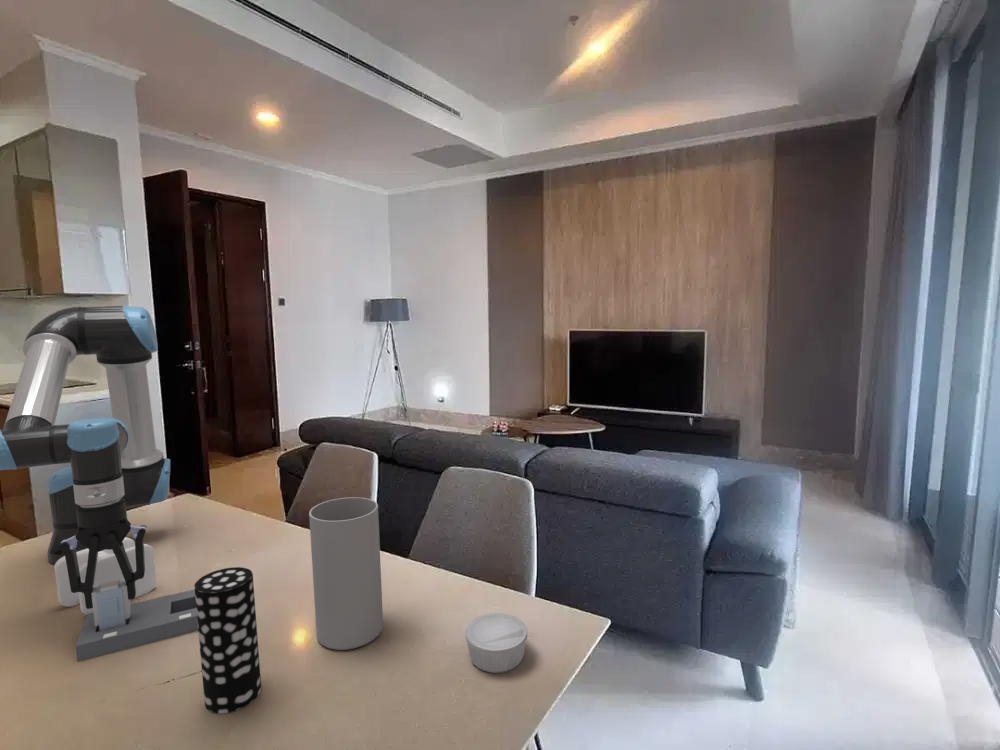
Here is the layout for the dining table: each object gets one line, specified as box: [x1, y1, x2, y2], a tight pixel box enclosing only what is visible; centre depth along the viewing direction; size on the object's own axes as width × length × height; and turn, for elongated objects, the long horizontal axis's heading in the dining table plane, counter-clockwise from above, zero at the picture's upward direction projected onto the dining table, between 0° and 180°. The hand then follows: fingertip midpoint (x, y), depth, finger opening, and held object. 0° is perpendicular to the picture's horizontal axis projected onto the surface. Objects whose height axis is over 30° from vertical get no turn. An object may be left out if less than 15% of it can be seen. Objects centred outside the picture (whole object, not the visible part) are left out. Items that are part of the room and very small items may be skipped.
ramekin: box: [464, 612, 528, 674], centre depth 98 cm, size 11×11×5 cm
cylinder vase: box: [308, 496, 384, 651], centre depth 105 cm, size 12×12×25 cm
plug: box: [96, 579, 129, 631], centre depth 105 cm, size 5×4×11 cm
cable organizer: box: [53, 536, 158, 616], centre depth 119 cm, size 15×11×12 cm
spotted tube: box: [193, 566, 262, 714], centre depth 89 cm, size 8×8×20 cm
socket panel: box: [75, 588, 198, 663], centre depth 109 cm, size 12×22×4 cm, turn 119°
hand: (113, 618), depth 105 cm, fingers closed on plug, 4 cm apart
